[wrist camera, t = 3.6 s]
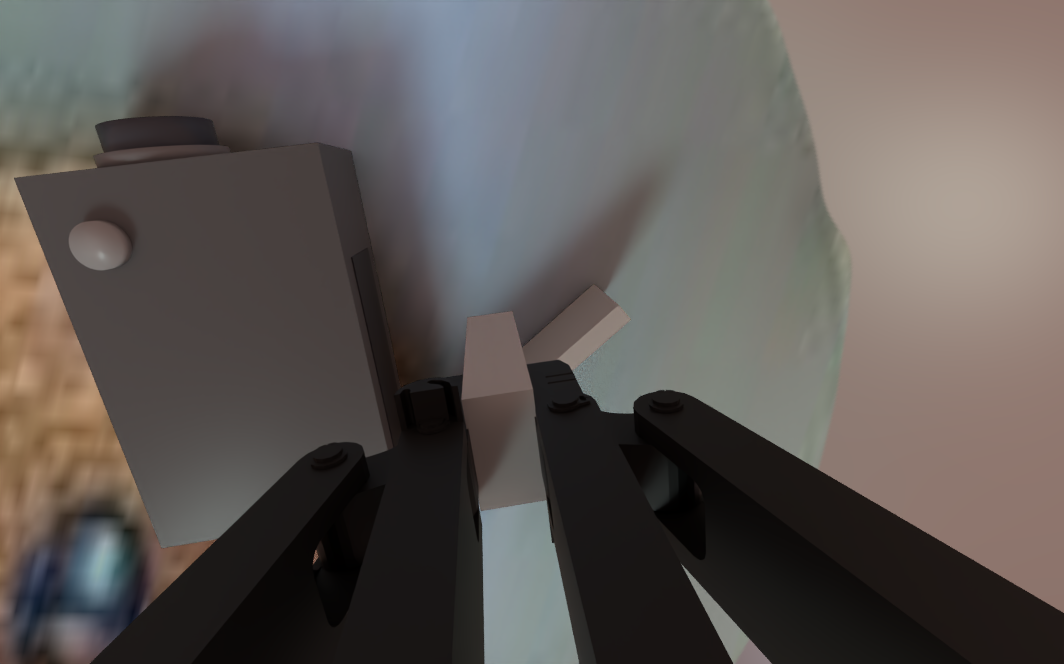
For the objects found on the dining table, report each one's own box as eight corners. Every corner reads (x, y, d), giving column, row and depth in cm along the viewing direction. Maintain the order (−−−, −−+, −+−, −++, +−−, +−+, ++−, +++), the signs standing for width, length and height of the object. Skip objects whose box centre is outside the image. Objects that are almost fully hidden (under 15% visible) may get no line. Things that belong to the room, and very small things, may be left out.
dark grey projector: (415, 450, 32) (400, 515, 26) (218, 481, 31) (154, 556, 25) (344, 114, 26) (304, 93, 20) (101, 141, 26) (-20, 128, 19)
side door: (430, 453, 32) (421, 509, 27) (416, 441, 32) (404, 495, 26) (606, 298, 31) (635, 324, 25) (593, 283, 30) (619, 306, 25)
